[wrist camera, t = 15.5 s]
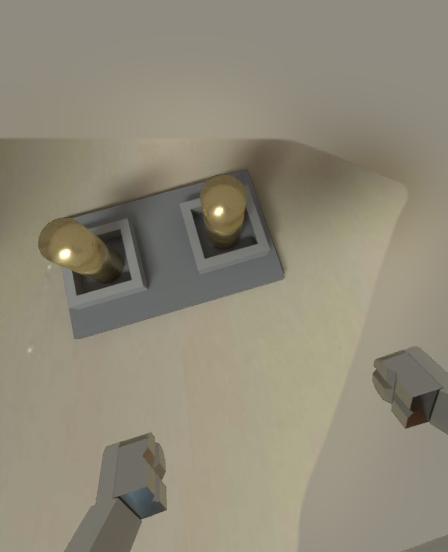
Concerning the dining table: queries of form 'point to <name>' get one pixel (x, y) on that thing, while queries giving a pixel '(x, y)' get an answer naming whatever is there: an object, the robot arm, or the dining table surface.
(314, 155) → the dining table surface
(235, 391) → the dining table surface
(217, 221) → the loose billet
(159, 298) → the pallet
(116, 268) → the seated billet
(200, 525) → the dining table surface
